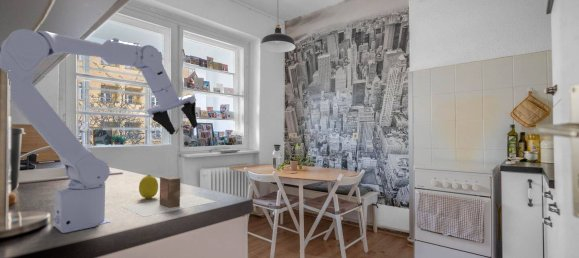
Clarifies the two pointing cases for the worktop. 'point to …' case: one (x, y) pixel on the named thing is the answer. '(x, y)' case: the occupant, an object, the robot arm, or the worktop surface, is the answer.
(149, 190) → the lemon
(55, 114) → the robot arm
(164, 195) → the brown wooden block
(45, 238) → the worktop surface
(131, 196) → the worktop surface
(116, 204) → the worktop surface
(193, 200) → the mat
